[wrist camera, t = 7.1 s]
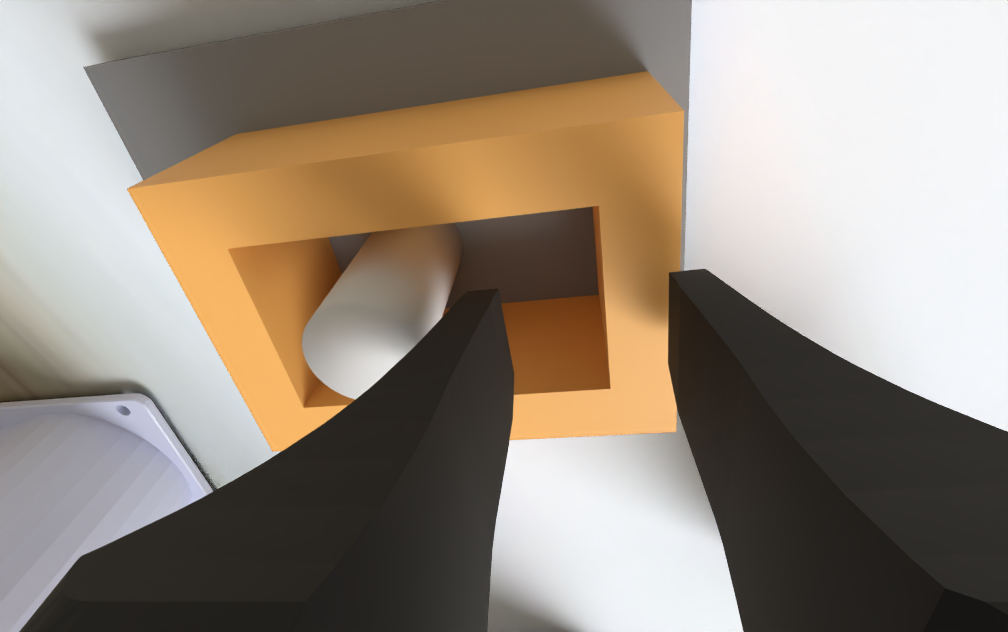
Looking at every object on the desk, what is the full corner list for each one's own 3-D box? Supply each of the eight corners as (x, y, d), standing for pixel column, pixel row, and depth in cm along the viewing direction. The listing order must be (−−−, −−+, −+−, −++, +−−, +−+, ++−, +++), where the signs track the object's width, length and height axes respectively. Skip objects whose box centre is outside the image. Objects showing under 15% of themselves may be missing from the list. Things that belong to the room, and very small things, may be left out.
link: (329, 356, 17) (272, 451, 14) (236, 133, 13) (126, 188, 10) (650, 331, 15) (676, 431, 12) (647, 70, 12) (684, 110, 8)
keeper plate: (278, 389, 19) (179, 536, 14) (112, 61, 13) (-153, 113, 8) (674, 362, 17) (722, 525, 12) (682, -44, 11) (783, -58, 6)
